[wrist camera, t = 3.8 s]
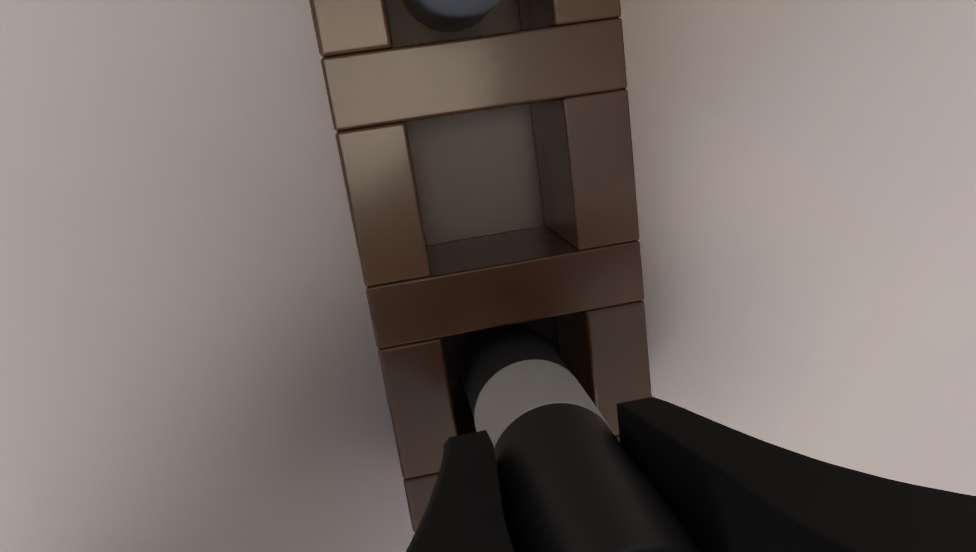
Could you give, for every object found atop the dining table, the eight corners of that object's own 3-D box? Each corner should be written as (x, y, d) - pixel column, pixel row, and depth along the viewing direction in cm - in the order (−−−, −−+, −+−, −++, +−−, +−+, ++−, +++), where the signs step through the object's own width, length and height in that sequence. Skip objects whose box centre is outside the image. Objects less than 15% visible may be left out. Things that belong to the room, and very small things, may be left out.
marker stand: (615, 420, 18) (659, 480, 15) (408, 462, 17) (413, 533, 14) (557, -179, 14) (601, -253, 11) (290, -153, 14) (265, -223, 11)
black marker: (564, 405, 16) (736, 691, 8) (467, 424, 15) (550, 739, 8) (552, 313, 15) (729, 527, 7) (452, 331, 15) (526, 573, 7)
